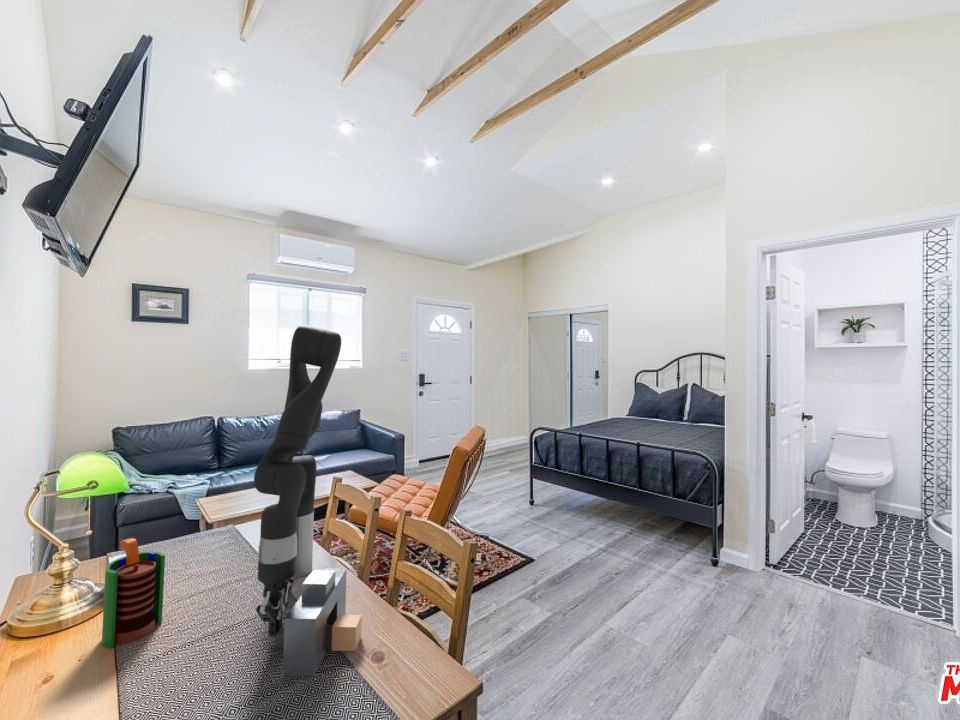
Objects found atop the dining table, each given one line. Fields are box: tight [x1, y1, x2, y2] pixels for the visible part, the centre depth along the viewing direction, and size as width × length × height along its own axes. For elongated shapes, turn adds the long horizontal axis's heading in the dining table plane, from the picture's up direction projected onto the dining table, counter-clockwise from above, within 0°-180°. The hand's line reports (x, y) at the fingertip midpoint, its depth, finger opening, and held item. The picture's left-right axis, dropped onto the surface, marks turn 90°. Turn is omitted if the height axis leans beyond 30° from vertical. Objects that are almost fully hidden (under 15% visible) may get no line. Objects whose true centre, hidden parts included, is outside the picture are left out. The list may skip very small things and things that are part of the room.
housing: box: [282, 567, 348, 677], centre depth 90 cm, size 6×20×14 cm, turn 1°
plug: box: [275, 613, 363, 652], centre depth 90 cm, size 17×4×5 cm, turn 90°
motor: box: [101, 537, 166, 649], centre depth 92 cm, size 10×9×20 cm
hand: (275, 634), depth 90 cm, fingers closed
